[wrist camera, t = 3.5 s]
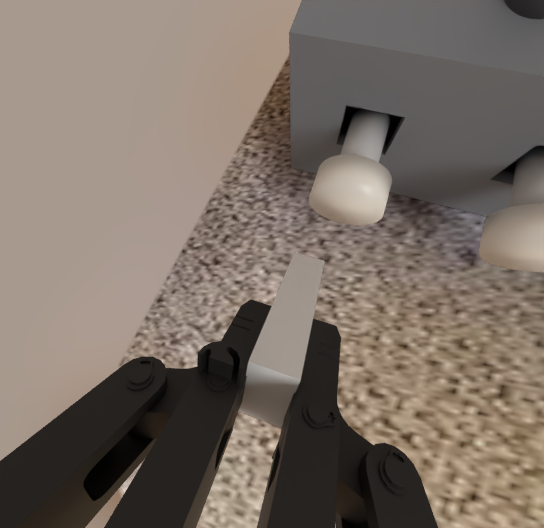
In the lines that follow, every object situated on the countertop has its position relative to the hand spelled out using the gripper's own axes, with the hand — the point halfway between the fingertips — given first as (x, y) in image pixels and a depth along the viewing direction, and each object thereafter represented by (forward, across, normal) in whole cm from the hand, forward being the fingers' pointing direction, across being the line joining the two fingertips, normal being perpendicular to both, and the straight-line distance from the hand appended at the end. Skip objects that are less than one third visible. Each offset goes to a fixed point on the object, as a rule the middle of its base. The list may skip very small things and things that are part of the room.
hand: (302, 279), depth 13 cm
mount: (+20, +8, +4) cm, 22 cm away
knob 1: (+12, +1, +2) cm, 12 cm away
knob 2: (+12, +13, +2) cm, 18 cm away
